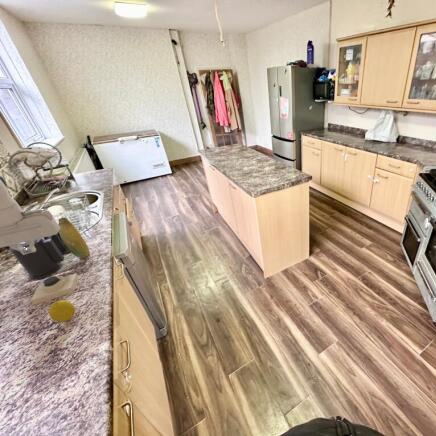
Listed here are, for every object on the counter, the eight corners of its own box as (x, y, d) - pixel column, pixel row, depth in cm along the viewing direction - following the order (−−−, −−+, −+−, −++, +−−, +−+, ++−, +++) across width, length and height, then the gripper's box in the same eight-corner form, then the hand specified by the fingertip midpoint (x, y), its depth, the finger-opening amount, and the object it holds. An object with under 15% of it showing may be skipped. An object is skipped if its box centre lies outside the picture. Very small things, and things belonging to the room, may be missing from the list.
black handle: (43, 261, 102) (26, 239, 96) (49, 250, 109) (34, 229, 103) (77, 252, 107) (63, 230, 101) (81, 242, 114) (68, 221, 108)
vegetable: (95, 255, 104) (73, 216, 94) (79, 264, 99) (53, 224, 89) (89, 252, 107) (66, 213, 97) (73, 260, 102) (47, 220, 92)
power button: (44, 288, 82) (41, 284, 81) (47, 281, 85) (45, 278, 84) (57, 284, 84) (54, 280, 83) (60, 278, 86) (57, 274, 86)
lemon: (53, 325, 73) (38, 308, 69) (71, 311, 77) (58, 294, 73) (66, 329, 71) (52, 311, 67) (84, 314, 76) (71, 296, 72)
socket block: (34, 304, 80) (27, 296, 78) (42, 288, 87) (36, 280, 85) (73, 292, 85) (68, 284, 83) (79, 277, 92) (73, 269, 90)
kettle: (26, 284, 90) (-1, 251, 82) (35, 269, 97) (11, 238, 90) (65, 272, 95) (42, 241, 87) (71, 259, 102) (51, 229, 94)
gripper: (49, 203, 77) (71, 238, 84) (-39, 221, 69) (-7, 258, 76) (43, 211, 73) (66, 246, 79) (-53, 231, 64) (-18, 269, 71)
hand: (30, 252), depth 78 cm, fingers closed
